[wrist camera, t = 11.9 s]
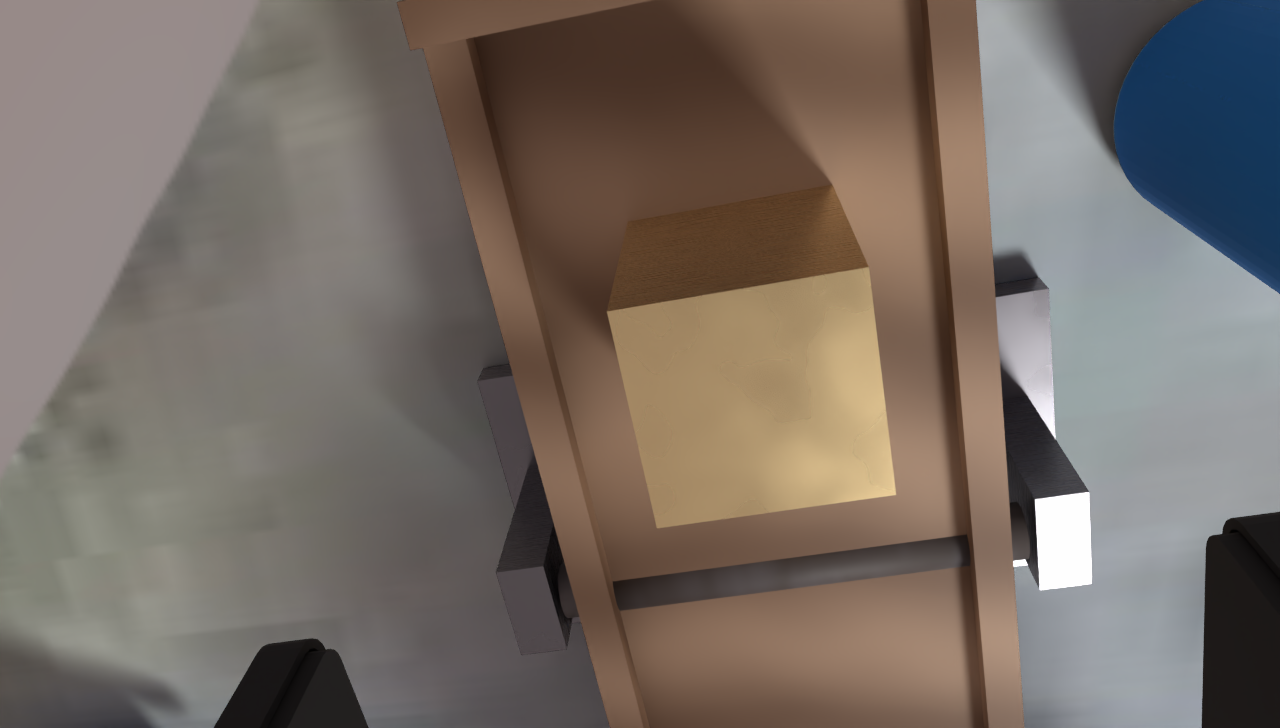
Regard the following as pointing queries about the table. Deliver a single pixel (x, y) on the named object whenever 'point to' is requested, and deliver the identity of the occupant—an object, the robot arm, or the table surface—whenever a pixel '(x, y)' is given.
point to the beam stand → (1031, 455)
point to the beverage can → (1210, 128)
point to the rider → (751, 358)
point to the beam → (905, 322)
